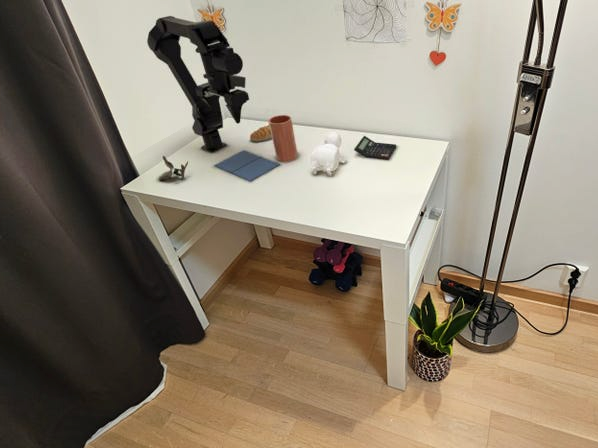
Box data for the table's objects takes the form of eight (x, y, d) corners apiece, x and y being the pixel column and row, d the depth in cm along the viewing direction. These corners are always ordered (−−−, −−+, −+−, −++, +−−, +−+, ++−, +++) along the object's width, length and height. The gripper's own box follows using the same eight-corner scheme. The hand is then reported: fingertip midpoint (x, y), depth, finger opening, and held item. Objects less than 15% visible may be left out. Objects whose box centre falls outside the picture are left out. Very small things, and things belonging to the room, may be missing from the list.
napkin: (214, 166, 129) (214, 164, 129) (243, 151, 137) (243, 150, 136) (250, 181, 120) (250, 180, 120) (279, 164, 128) (279, 163, 127)
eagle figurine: (193, 167, 127) (167, 160, 128) (183, 156, 120) (156, 150, 121) (184, 188, 125) (158, 182, 126) (174, 179, 118) (146, 172, 119)
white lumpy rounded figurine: (338, 183, 123) (351, 146, 130) (331, 165, 116) (345, 127, 123) (312, 179, 125) (326, 144, 132) (304, 162, 118) (320, 125, 125)
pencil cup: (275, 162, 129) (267, 125, 121) (277, 152, 135) (269, 116, 127) (297, 160, 129) (290, 122, 121) (298, 150, 135) (291, 114, 127)
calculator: (388, 160, 126) (388, 151, 125) (354, 156, 130) (353, 147, 128) (396, 146, 133) (396, 138, 132) (363, 143, 137) (363, 135, 135)
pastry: (255, 144, 140) (253, 134, 138) (247, 139, 145) (244, 129, 142) (279, 136, 145) (277, 126, 142) (270, 131, 149) (268, 121, 147)
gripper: (257, 66, 116) (268, 117, 126) (218, 58, 126) (231, 106, 135) (226, 77, 110) (240, 130, 119) (187, 68, 119) (203, 117, 129)
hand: (229, 120), depth 126 cm, fingers open, 9 cm apart
